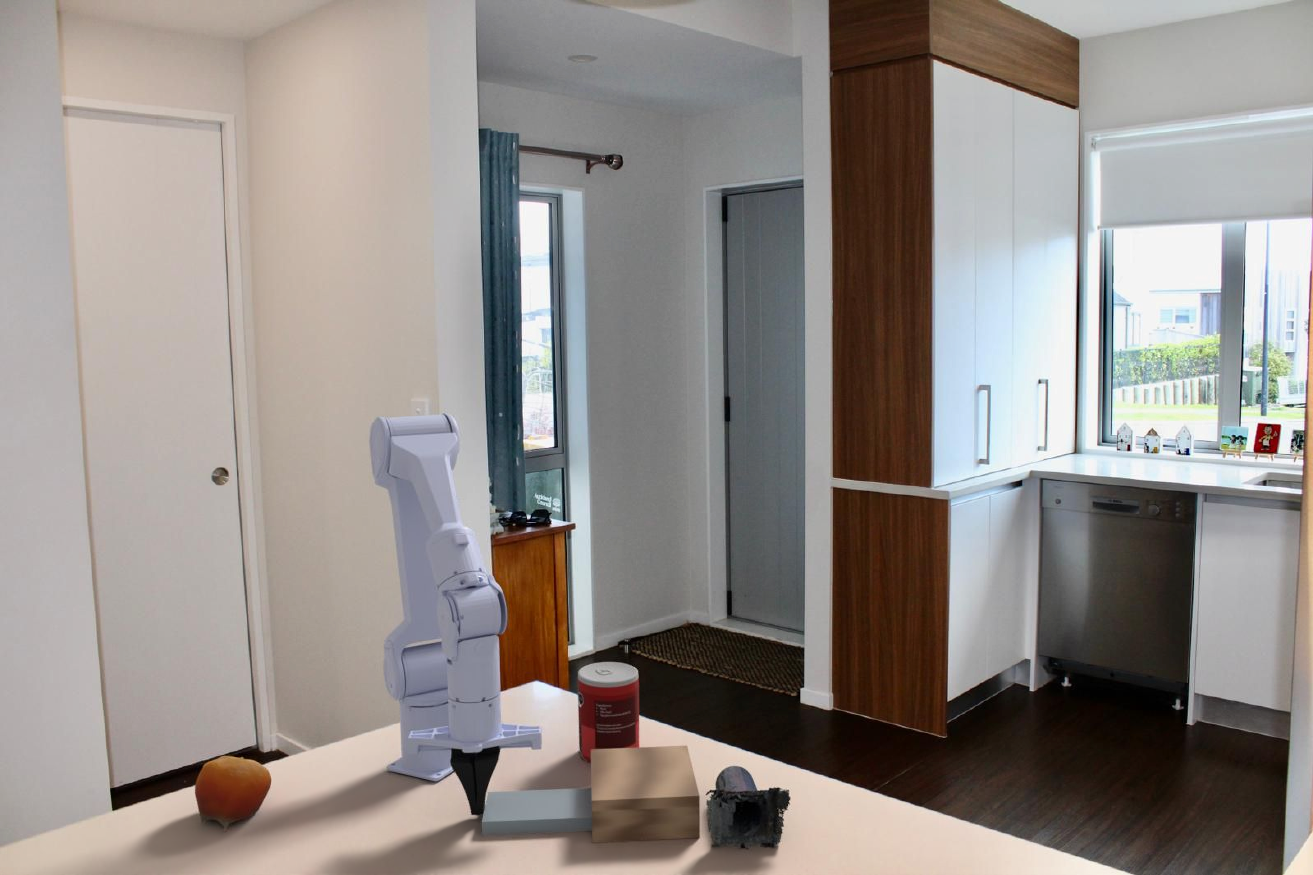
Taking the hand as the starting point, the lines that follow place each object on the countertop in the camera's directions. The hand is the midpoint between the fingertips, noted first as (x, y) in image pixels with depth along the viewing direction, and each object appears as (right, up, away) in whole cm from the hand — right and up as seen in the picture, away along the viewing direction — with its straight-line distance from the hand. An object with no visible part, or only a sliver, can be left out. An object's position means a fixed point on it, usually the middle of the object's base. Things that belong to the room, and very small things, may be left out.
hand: (478, 811), depth 113 cm
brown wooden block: (+18, -1, +1) cm, 18 cm away
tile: (+7, -1, 0) cm, 7 cm away
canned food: (+14, +1, +17) cm, 22 cm away
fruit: (-28, -1, +2) cm, 28 cm away
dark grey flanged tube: (+29, -1, -1) cm, 29 cm away
